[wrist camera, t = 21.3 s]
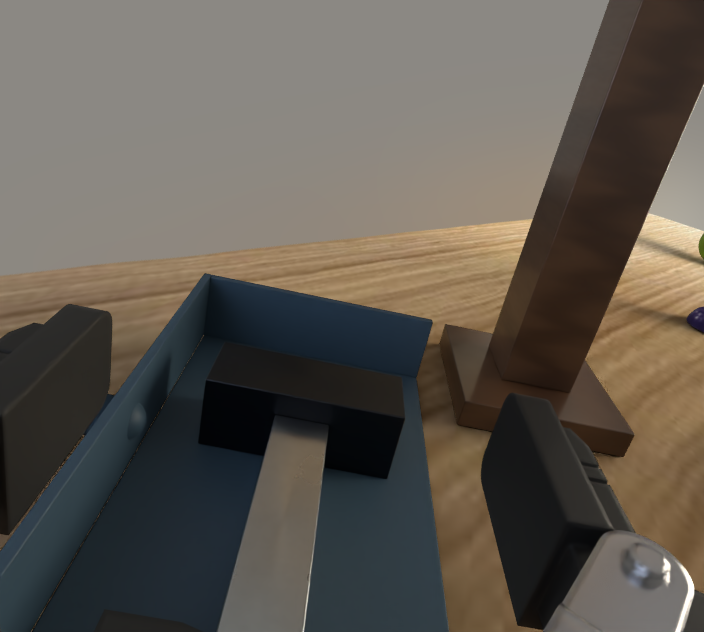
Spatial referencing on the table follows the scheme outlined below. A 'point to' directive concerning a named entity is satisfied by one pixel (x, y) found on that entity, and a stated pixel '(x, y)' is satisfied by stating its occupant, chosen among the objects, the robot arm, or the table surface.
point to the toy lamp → (697, 319)
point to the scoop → (228, 485)
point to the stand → (587, 225)
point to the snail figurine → (701, 246)
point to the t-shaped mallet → (292, 465)
